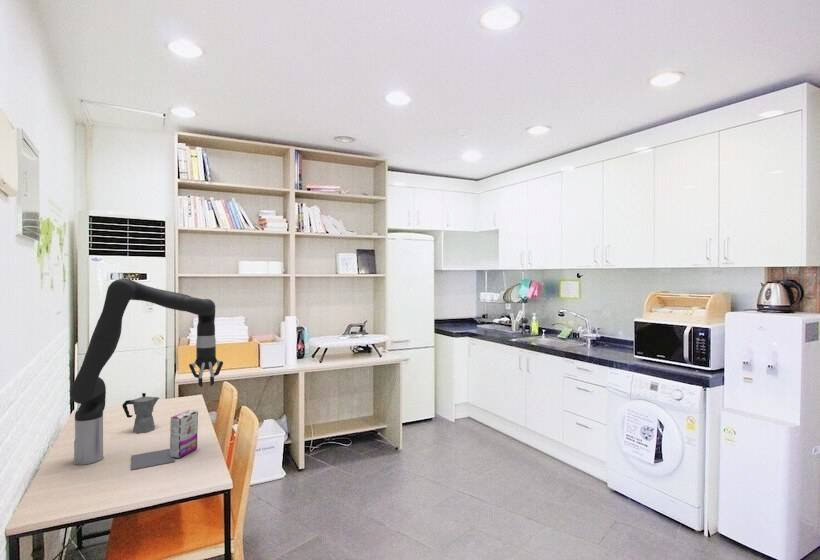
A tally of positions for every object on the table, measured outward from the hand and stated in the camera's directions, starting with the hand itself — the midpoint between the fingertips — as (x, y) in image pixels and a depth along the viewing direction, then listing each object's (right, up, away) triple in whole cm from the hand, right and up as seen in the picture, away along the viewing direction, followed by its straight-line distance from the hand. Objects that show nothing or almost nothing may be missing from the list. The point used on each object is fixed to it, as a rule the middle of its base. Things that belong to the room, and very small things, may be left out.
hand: (206, 385), depth 192 cm
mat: (-17, -27, -10) cm, 34 cm away
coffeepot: (-42, -27, +24) cm, 56 cm away
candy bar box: (-8, -27, -5) cm, 29 cm away
